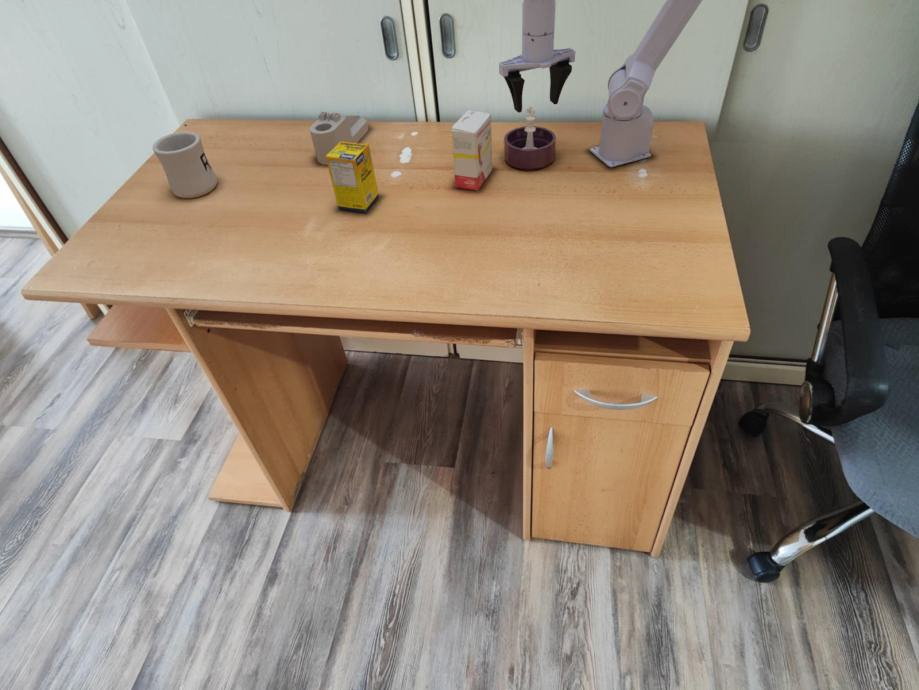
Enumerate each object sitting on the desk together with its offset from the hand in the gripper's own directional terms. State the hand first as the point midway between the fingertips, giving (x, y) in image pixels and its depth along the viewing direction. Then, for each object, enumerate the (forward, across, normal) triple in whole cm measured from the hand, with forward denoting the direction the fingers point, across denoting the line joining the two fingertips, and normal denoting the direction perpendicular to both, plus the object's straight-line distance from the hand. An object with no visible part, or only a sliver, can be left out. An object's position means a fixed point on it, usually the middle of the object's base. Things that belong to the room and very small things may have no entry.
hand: (535, 106), depth 113 cm
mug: (+10, -68, +19) cm, 71 cm away
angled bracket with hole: (+10, -36, +22) cm, 43 cm away
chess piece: (+9, -2, -2) cm, 10 cm away
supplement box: (+10, -38, -3) cm, 39 cm away
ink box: (+10, -15, -4) cm, 18 cm away
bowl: (+10, -2, -2) cm, 10 cm away
